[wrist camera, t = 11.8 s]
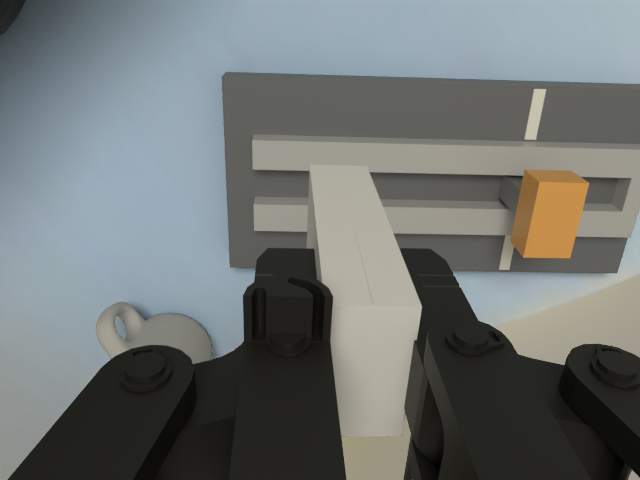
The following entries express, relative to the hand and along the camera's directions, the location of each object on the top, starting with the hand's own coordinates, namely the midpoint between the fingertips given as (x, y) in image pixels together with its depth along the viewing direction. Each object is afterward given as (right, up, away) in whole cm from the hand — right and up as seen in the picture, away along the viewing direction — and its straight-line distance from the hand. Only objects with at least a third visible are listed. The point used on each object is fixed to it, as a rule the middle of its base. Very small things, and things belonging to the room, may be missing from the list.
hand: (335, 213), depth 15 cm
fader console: (+8, +4, +26) cm, 27 cm away
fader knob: (+14, +3, +24) cm, 28 cm away
